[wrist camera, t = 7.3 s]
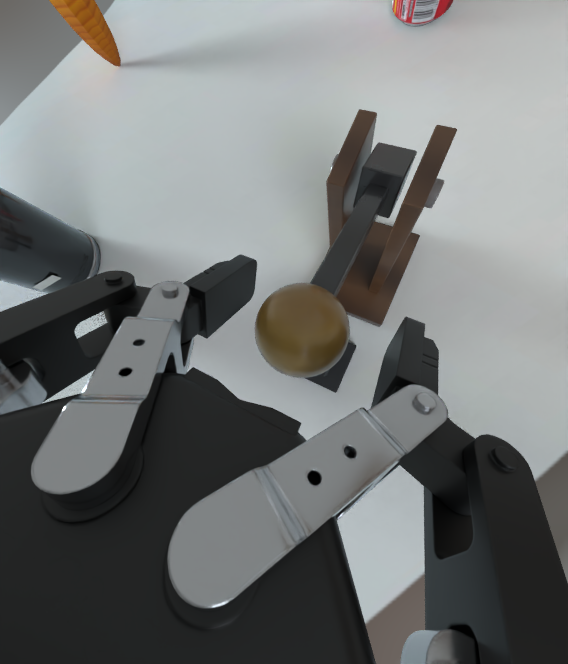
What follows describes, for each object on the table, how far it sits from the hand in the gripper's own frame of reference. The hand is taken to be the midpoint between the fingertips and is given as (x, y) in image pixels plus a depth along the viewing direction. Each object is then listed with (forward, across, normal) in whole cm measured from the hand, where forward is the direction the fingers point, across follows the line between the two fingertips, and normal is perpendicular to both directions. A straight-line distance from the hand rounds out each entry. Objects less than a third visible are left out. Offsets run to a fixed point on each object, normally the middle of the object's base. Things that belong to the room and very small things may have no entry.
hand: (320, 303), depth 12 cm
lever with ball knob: (+3, 0, 0) cm, 3 cm away
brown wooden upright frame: (+18, 0, +6) cm, 19 cm away
